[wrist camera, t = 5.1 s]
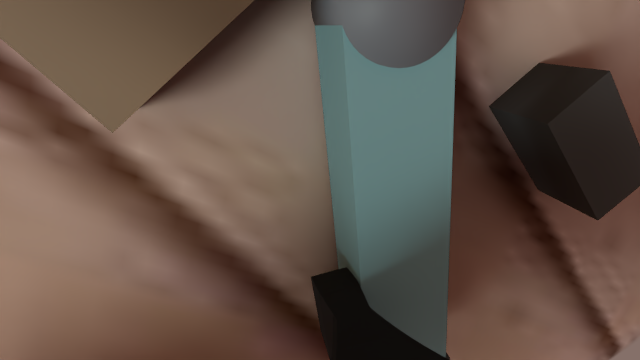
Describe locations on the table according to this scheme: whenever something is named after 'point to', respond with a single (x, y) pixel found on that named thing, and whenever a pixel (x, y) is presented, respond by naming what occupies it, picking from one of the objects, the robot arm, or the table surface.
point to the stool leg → (392, 151)
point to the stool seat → (227, 3)
